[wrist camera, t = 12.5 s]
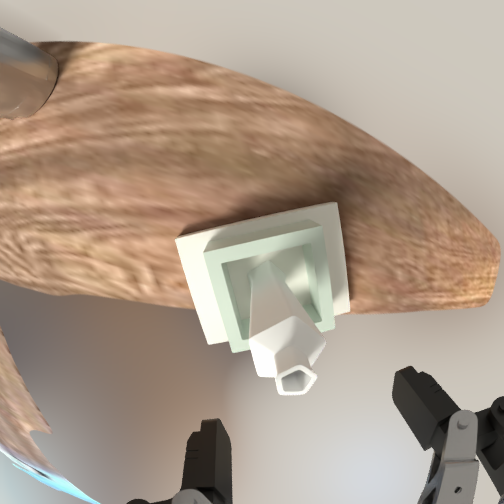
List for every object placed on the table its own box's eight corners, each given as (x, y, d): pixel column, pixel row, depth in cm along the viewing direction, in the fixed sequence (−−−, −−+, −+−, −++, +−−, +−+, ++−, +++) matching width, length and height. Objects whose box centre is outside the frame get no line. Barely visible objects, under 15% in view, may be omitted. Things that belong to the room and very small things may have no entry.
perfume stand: (209, 337, 30) (204, 366, 24) (178, 236, 27) (164, 248, 21) (345, 305, 30) (364, 328, 24) (331, 201, 27) (353, 206, 21)
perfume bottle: (253, 250, 26) (273, 332, 11) (294, 267, 27) (351, 356, 12) (234, 291, 27) (233, 399, 12) (274, 306, 28) (306, 416, 13)
